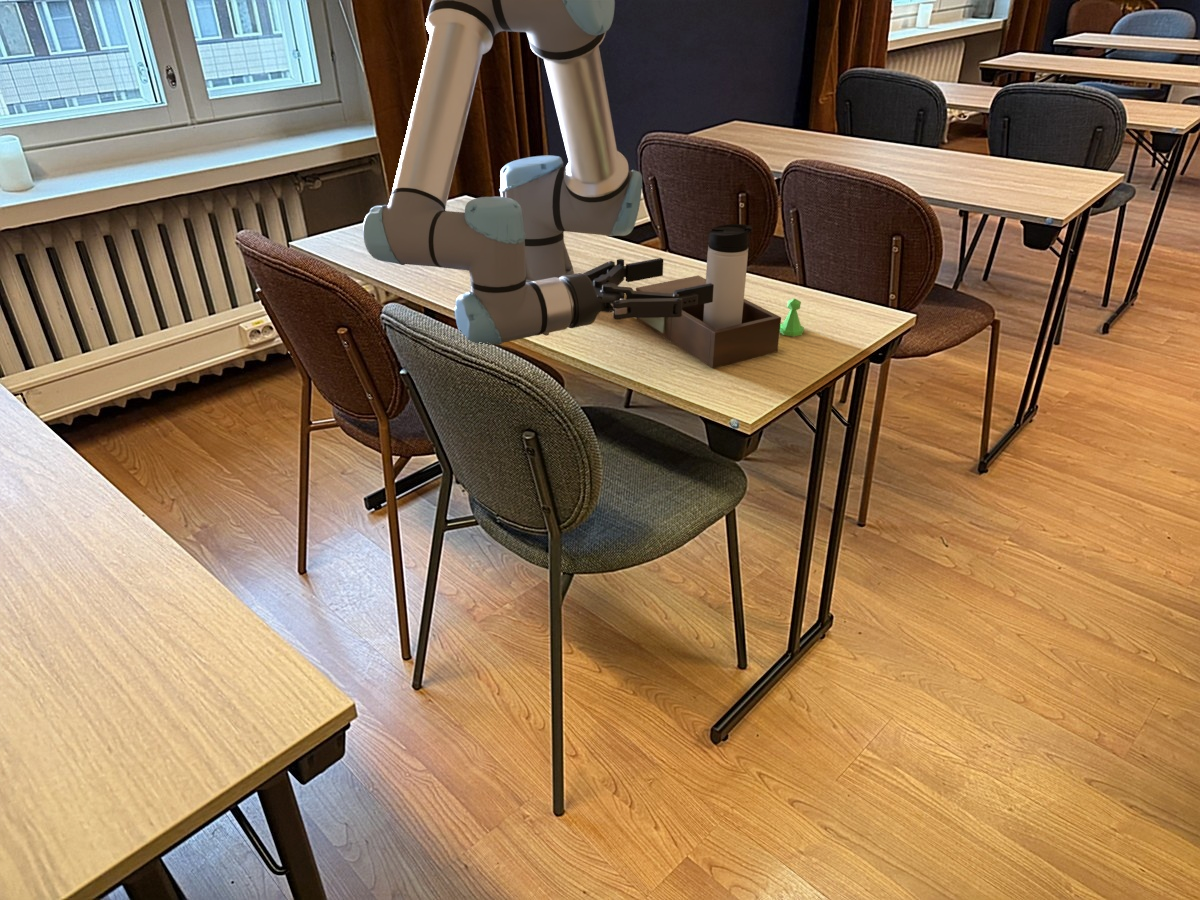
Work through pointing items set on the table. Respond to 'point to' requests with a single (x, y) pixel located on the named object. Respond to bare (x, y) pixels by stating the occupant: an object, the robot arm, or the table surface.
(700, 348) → the storage box
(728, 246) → the travel mug
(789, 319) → the game piece
